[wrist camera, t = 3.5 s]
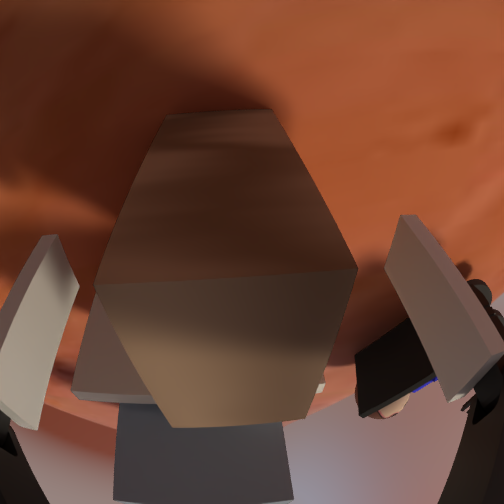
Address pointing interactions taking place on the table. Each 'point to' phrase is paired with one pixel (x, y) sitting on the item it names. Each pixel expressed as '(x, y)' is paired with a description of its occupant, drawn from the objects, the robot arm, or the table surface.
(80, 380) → the white book rack
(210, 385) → the book
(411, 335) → the character figurine
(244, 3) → the table surface
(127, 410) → the book
